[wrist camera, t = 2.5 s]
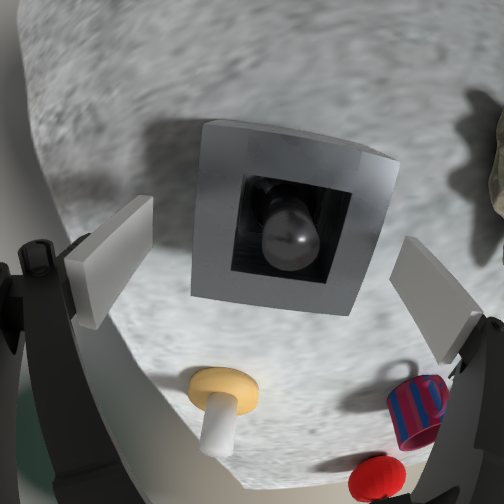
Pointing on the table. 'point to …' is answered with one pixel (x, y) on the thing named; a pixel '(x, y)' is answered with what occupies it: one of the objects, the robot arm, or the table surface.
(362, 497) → the tomato
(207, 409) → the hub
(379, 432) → the table surface
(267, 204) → the dark grey round-topped piece
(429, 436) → the mug
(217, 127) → the grey square bin
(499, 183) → the fossil
